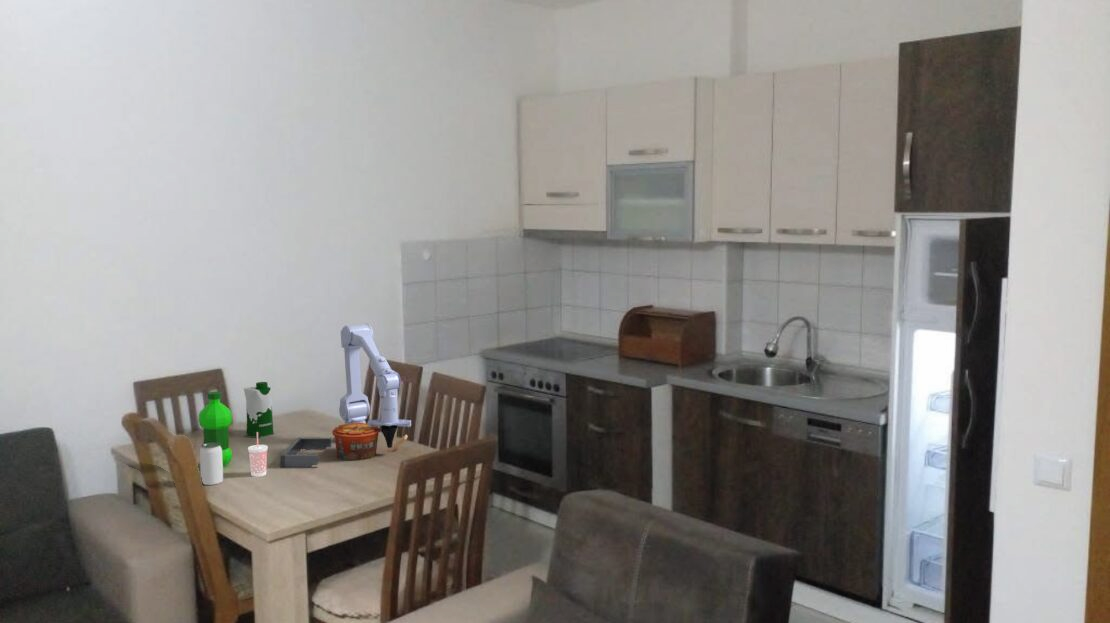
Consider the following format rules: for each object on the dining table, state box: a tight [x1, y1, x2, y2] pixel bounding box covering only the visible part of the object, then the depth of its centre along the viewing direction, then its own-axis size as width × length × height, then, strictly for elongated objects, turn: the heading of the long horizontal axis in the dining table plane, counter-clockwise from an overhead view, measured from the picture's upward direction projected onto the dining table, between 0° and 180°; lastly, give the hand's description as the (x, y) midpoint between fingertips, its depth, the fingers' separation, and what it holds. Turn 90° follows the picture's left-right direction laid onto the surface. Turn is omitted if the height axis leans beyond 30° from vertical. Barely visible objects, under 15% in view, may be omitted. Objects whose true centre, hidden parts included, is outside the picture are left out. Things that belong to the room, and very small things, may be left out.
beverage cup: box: [247, 432, 269, 478], centre depth 281 cm, size 6×6×14 cm
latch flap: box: [387, 434, 409, 452], centre depth 307 cm, size 5×8×1 cm
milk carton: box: [243, 381, 274, 438], centre depth 327 cm, size 9×9×20 cm
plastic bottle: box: [198, 390, 233, 469], centre depth 287 cm, size 10×10×25 cm
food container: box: [331, 422, 381, 462], centre depth 300 cm, size 16×16×11 cm
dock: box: [279, 437, 333, 469], centre depth 299 cm, size 22×12×4 cm, turn 2°
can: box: [199, 443, 224, 486], centre depth 272 cm, size 6×6×12 cm
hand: (389, 446), depth 300 cm, fingers closed
